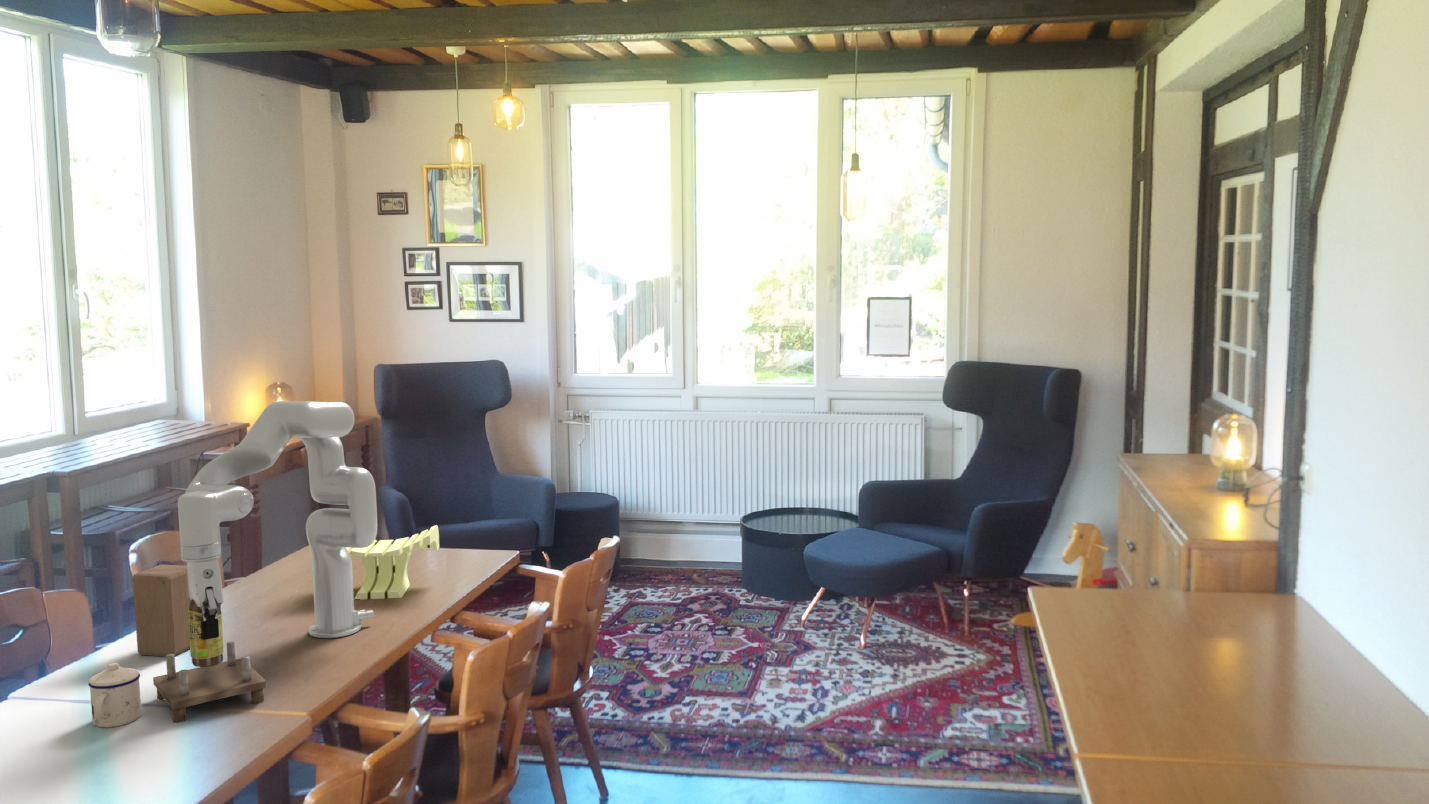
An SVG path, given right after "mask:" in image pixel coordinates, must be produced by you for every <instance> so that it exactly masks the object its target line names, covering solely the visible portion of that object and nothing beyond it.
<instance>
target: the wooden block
mask: <svg viewBox="0 0 1429 804" xmlns="http://www.w3.org/2000/svg"><path fill="white" fill-rule="evenodd" d="M132 590H133V604H134V617H135V629H136V630H135V631H136V634H135V635H136V644H137V645H136V646H137V653H138V654H139V655H141V656H143V655H144V656H155V657H166V655H168V654H174V656H177V655H179V654H181V653H183V652H185V651H187V650H190V631H189V612H188V610H189V604H190V602H191V600H190V598H189V593H188V582H187V565H180V564H179V565H178V564H159V565H156V566H153V567H151V568H148V569H145V570H142V571H139V572H137V573H134V574H133V575H132Z"/></svg>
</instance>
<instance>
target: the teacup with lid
mask: <svg viewBox="0 0 1429 804" xmlns="http://www.w3.org/2000/svg"><path fill="white" fill-rule="evenodd" d="M140 677H141V674H140V672H139V670H138V669H136V668H131V667H125V666H120V663H118V662H112V663H109V664H108V665H107V668H105V669H104V670H102V671H101V672H99V673H96V674H95V675H93V676H91V677H90V678H89V680H88V682H87V683H88V684H87V685H88V687H89V692H90V694H89V695H90V706H91V717H92V718H91V719H92V723H93V725H94V726H95V727H97V728H114V727H120V726H121V727H122V726H124V725H127V724H131V723H133V722H135V721H136V720H138V719H139V718H140V717H141V716H142V703H141V702H142V701H141V700H142V699H141V691H140V690H141V688H140V687H141V686H140V685H141V684H140Z"/></svg>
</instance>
